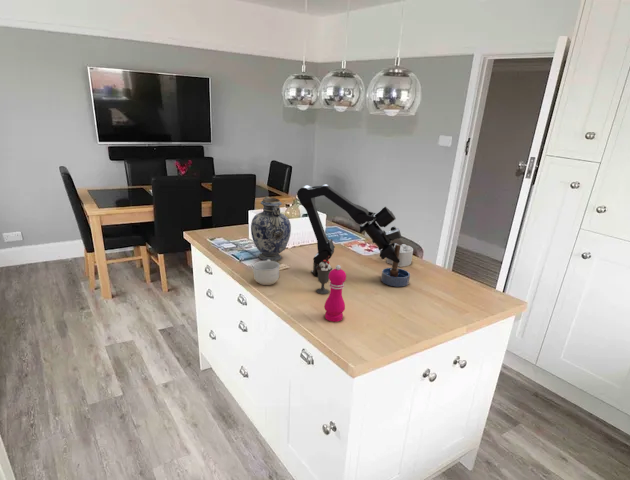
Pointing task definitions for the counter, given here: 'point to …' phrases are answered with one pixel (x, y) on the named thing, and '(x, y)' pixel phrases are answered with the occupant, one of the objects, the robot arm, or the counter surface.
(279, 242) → the decorative vase
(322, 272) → the sundae
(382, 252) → the robot arm
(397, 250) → the stirring stick
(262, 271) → the teacup
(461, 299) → the counter surface
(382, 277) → the bowl
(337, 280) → the pepper mill
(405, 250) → the lumpy-topped squat cylinder
